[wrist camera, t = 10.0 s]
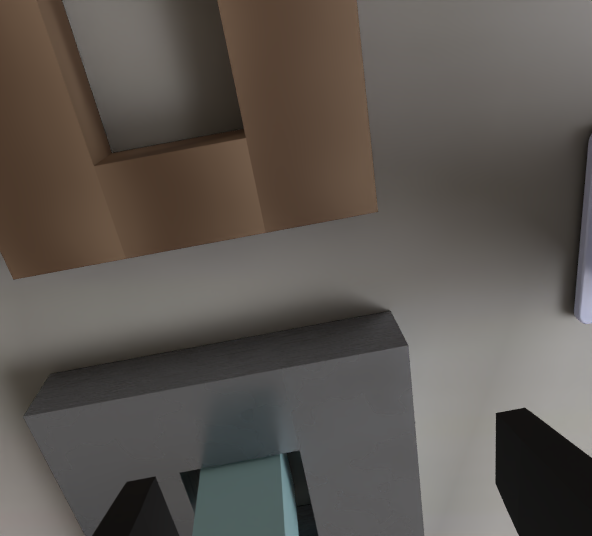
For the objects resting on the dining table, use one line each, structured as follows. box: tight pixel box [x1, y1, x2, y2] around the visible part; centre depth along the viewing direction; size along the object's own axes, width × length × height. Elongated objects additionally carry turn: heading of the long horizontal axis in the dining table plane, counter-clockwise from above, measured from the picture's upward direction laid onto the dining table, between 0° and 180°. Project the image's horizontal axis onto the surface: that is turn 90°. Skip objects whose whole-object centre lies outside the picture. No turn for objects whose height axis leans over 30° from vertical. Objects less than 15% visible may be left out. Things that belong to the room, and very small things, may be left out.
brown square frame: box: [0, 0, 378, 280], centre depth 14 cm, size 12×12×2 cm
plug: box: [192, 453, 299, 536], centre depth 19 cm, size 3×4×7 cm
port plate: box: [23, 311, 424, 536], centre depth 21 cm, size 14×14×2 cm
